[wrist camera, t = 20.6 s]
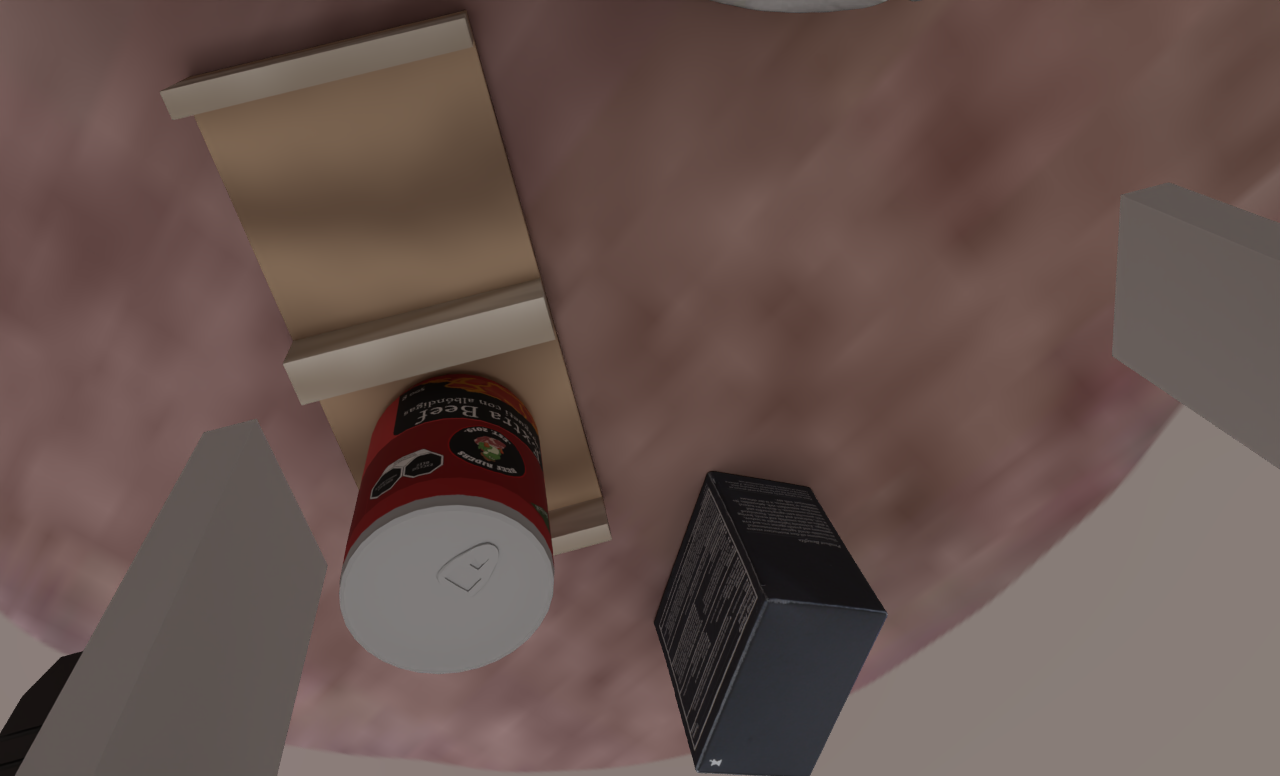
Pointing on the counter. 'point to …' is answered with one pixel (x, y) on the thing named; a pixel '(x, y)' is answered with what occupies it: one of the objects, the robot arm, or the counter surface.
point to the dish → (802, 5)
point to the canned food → (449, 530)
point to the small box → (763, 627)
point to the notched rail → (395, 237)
